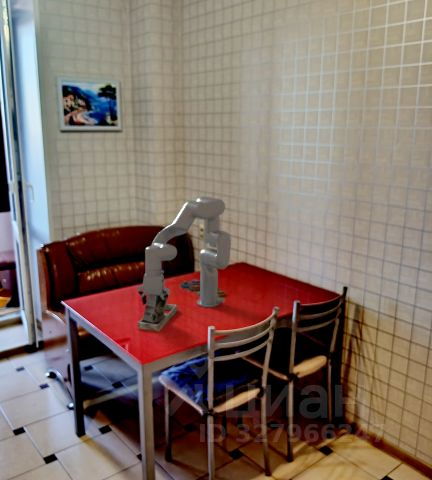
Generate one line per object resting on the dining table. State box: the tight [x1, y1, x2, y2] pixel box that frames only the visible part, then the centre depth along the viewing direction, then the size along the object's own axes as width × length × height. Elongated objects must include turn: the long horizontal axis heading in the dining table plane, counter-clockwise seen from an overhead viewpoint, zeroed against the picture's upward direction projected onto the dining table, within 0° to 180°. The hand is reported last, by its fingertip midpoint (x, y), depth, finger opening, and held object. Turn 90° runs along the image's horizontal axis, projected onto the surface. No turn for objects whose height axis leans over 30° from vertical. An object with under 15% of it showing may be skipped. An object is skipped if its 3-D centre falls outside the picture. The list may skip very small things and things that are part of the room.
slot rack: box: [137, 303, 179, 332], centre depth 233 cm, size 11×27×3 cm, turn 166°
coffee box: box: [142, 291, 169, 323], centre depth 227 cm, size 9×6×16 cm
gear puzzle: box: [178, 279, 227, 297], centre depth 275 cm, size 31×16×4 cm, turn 47°
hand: (153, 305), depth 225 cm, fingers open, 9 cm apart
